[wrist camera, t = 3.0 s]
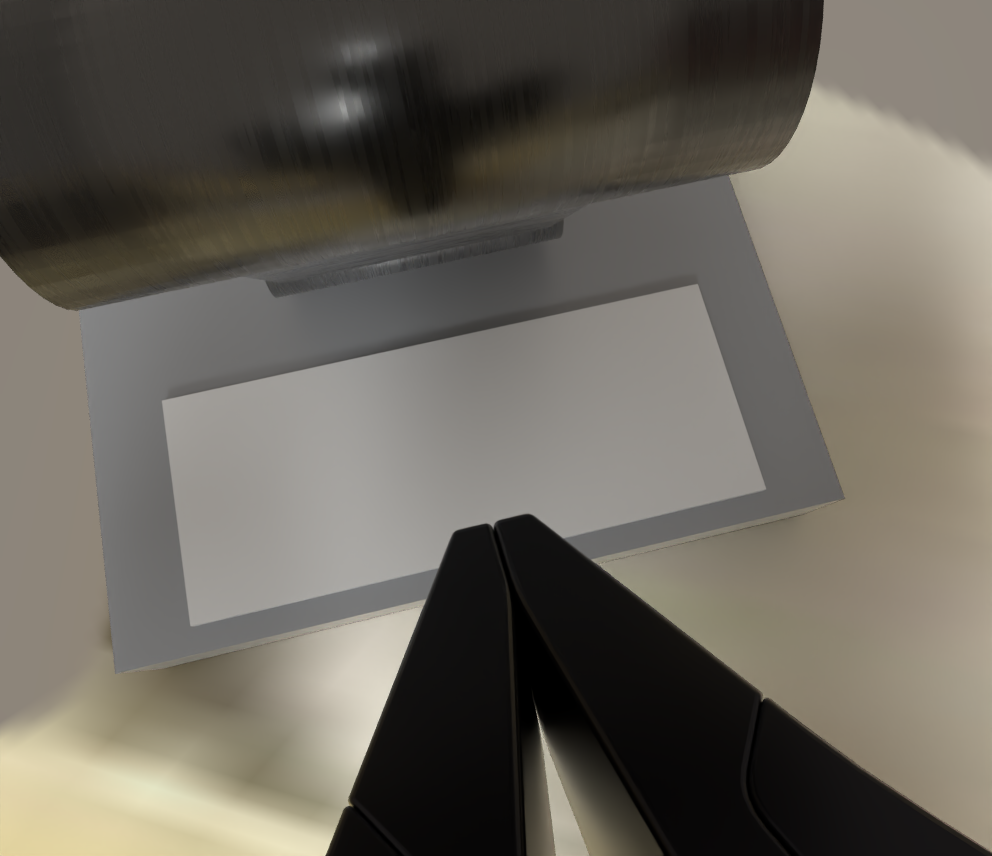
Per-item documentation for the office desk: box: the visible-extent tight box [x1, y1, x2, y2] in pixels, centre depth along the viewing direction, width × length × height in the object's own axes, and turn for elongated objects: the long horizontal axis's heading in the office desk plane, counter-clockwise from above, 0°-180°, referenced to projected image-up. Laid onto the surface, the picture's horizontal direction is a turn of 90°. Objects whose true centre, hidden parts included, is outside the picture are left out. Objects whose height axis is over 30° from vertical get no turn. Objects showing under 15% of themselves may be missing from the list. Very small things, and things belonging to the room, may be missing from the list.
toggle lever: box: [0, 0, 824, 311], centre depth 10 cm, size 2×6×11 cm, turn 104°
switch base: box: [79, 175, 845, 674], centre depth 17 cm, size 14×14×2 cm
